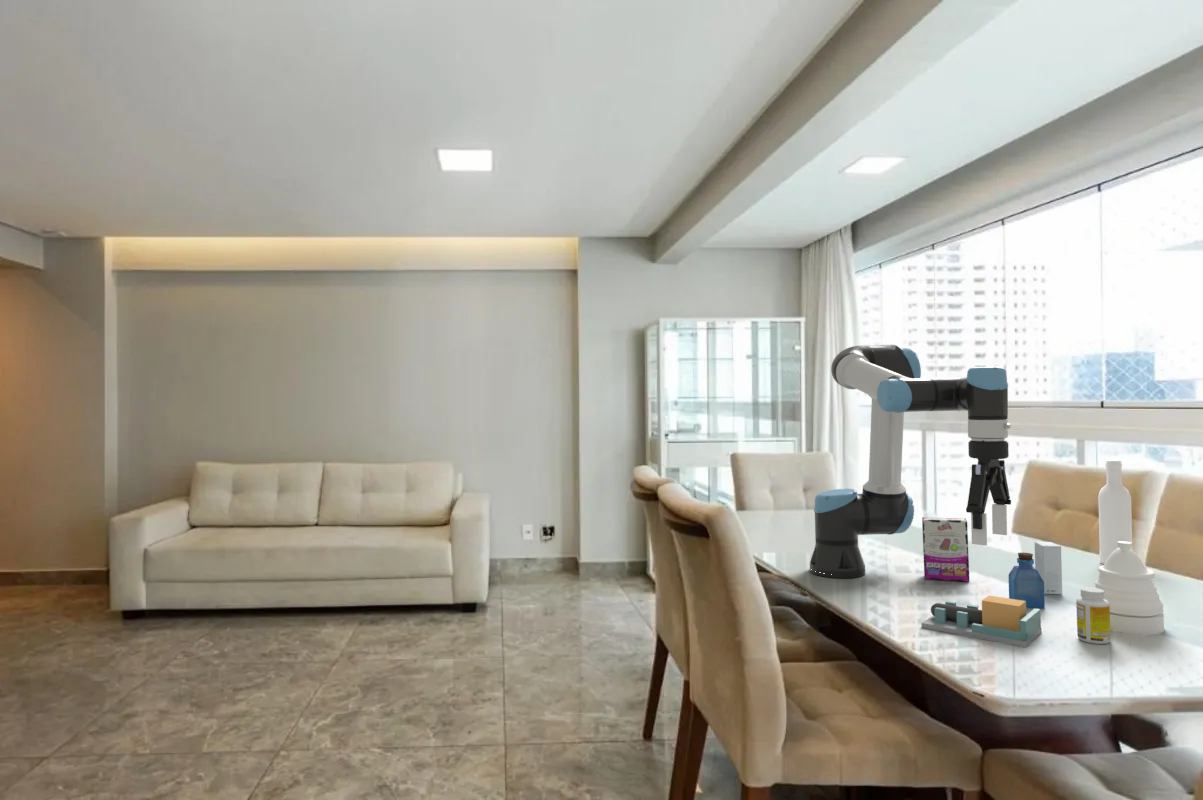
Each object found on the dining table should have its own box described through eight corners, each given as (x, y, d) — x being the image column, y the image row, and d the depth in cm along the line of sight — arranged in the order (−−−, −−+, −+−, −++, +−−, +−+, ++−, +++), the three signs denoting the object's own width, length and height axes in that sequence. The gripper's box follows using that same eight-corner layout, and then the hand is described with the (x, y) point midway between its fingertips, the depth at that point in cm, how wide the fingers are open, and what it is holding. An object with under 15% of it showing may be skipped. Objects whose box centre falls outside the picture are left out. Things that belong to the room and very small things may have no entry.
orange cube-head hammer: (927, 619, 161) (926, 591, 161) (935, 614, 164) (934, 587, 164) (1020, 636, 148) (1019, 606, 148) (1026, 630, 152) (1026, 601, 152)
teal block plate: (921, 627, 158) (920, 604, 158) (941, 615, 167) (941, 593, 167) (1025, 647, 144) (1024, 621, 144) (1041, 632, 153) (1041, 608, 153)
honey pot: (1167, 638, 148) (1165, 548, 148) (1091, 629, 155) (1089, 543, 155) (1160, 621, 159) (1158, 538, 159) (1089, 613, 166) (1087, 533, 166)
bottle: (1132, 562, 213) (1129, 459, 213) (1134, 568, 206) (1131, 461, 206) (1099, 560, 217) (1096, 458, 217) (1100, 565, 211) (1097, 460, 211)
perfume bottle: (1038, 602, 175) (1037, 551, 175) (1044, 609, 170) (1043, 557, 170) (1009, 600, 177) (1007, 550, 177) (1014, 607, 172) (1013, 556, 172)
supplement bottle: (1116, 641, 146) (1114, 590, 146) (1102, 647, 143) (1101, 594, 143) (1085, 634, 151) (1084, 584, 151) (1071, 639, 148) (1070, 588, 148)
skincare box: (1063, 594, 181) (1061, 546, 181) (1044, 594, 182) (1042, 546, 182) (1053, 588, 187) (1051, 541, 187) (1034, 588, 188) (1033, 541, 188)
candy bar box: (968, 578, 200) (966, 517, 200) (969, 582, 195) (968, 520, 195) (923, 575, 204) (921, 516, 204) (923, 579, 199) (922, 519, 199)
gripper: (988, 443, 144) (990, 551, 144) (1024, 436, 162) (1026, 532, 162) (948, 442, 149) (950, 546, 150) (987, 435, 167) (989, 528, 167)
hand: (989, 539), depth 156 cm, fingers open, 13 cm apart
